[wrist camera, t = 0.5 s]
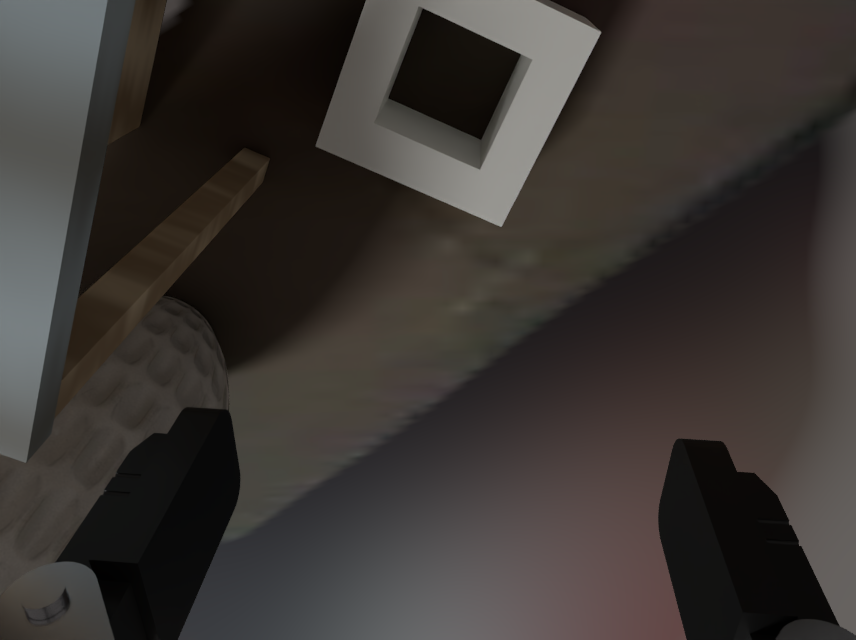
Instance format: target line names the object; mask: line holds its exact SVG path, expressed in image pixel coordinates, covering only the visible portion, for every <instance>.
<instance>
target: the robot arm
mask: <svg viewBox="0 0 856 640" xmlns="http://www.w3.org/2000/svg"><path fill="white" fill-rule="evenodd" d="M239 490H240V469H239V462H238V456H237V450H236V444H235V437H234V431H233V425H232V419H231V415H230V413H229V411H228V410H226V409H213V408H197V407H186V408H184V409H183V410H182V411H181V412H180V414H179V416H178V417H177V419H176V420H175V422H174V424H173V425H172V427H171V428H170V430H169V432H168V433H167V434H164V433H153V434H152V435H150V436H149V437H148V438H147V439H145V440H144V441H143V442H141V443H140V444H139V445H137V446H136V447H135V448H133V449H132V450H131V451H130V452H129V453H128V455H127V456H126V458H125V459H124V461H123V462H122V464H121V465H120V467H119V468H118V470H117V471H116V475H115V477H112V479H111V480H110V482H109V483H108V485H107V486H106V488H105V489H104V493H103V495H100V497H99V498H98V499H97V501H96V502H95V504H94V505H93V507H92V508H91V510H90V511H89V513H88V514H87V516H86V517H85V519H84V520H83V522H82V523H81V525H80V526H79V528H78V529H77V531H76V532H75V534H74V535H73V537H72V538H71V540H70V541H69V543H68V544H67V546H66V547H65V549H64V550H63V551H62V553H61V554H60V556H59V557H58V559H57V560H56V562H55V563H51V564H47V565H44V566H41V567H38V568H36V569H34V570H31V571H29V572H28V573H26V574H24V575H22V576H21V577H20V578H18V579H17V580H15V581H14V582H13V583H12V584H11V585H10V586H8V587H7V588H6V589H5V591H4V592H3V593H2V594H1V595H0V640H178V638H179V636H180V633H181V631H182V628H183V626H184V624H185V622H186V619H187V617H188V615H189V613H190V610H191V608H192V606H193V603H194V601H195V599H196V596H197V594H198V592H199V589H200V587H201V585H202V583H203V580H204V578H205V576H206V573H207V571H208V569H209V567H210V564H211V562H212V560H213V557H214V555H215V553H216V550H217V548H218V546H219V544H220V541H221V539H222V537H223V534H224V532H225V530H226V527H227V525H228V523H229V521H230V518H231V516H232V514H233V511H234V509H235V506H236V504H237V500H238V496H239ZM658 522H659V532H660V539H661V543H662V547H663V551H664V554H665V558H666V562H667V566H668V570H669V574H670V578H671V581H672V585H673V589H674V593H675V597H676V601H677V604H678V608H679V612H680V616H681V620H682V624H683V628H684V631H685V635H686V639H687V640H856V635H854V634H853V633H851V632H849V631H847V630H846V629H844V628H842V627H840V626H839V624H838V622H837V620H836V618H835V616H834V614H833V612H832V610H831V607H830V605H829V603H828V601H827V599H826V597H825V595H824V593H823V591H822V589H821V587H820V584H819V582H818V580H817V578H816V576H815V574H814V572H813V570H812V568H811V566H810V564H809V561H808V559H807V557H806V555H805V553H804V551H803V549H802V547H801V546H799V544H798V543H799V540H798V538H797V536H796V534H795V532H794V530H793V528H792V526H791V525H789V519H788V517H787V515H786V513H785V511H784V509H783V507H782V505H781V503H780V501H779V499H778V496H777V495H776V494H775V493H774V492H773V491H772V490H771V489H770V488H769V487H768V486H767V485H766V484H765V483H764V482H763V481H762V480H761V479H760V478H759V477H758V476H757V475H756V474H755V473H745V472H737V471H736V468H735V466H734V464H733V461H732V459H731V457H730V454H729V452H728V450H727V447H726V446H725V444H724V443H723V442H721V441H708V440H693V439H677V440H676V441H675V443H674V445H673V449H672V453H671V457H670V461H669V466H668V470H667V474H666V478H665V482H664V486H663V491H662V495H661V499H660V504H659V515H658Z"/></svg>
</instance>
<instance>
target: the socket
mask: <svg viewBox="0 0 856 640" xmlns="http://www.w3.org/2000/svg"><path fill="white" fill-rule="evenodd" d="M423 8H424V9H426V10H428V11H430V12H432V13H434V14H437V15H439V16H441V17H443V18H445V19H447V20H449V21H451V22H454V23H456V24H458V25H460V26H462V27H464V28H466V29H468V30H471V31H473V32H475V33H477V34H479V35H481V36H483V37H485V38H488V39H490V40H492V41H494V42H496V43H498V44H500V45H503V46H505V47H507V48H509V49H511V50H513V51H515V52H517V53H520V54H521V55H520V58H519V60H518V62H517V64H516V66H515V68H514V70H513V73H512V75H511V77H510V79H509V81H508V83H507V85H506V88H505V90H504V92H503V94H502V96H501V98H500V100H499V103H498V105H497V107H496V109H495V111H494V113H493V115H492V118H491V120H490V122H489V124H488V126H487V128H486V130H485V133H484V135H483V137H482V139H481V140H480V139H478V138H476V137H473V136H471V135H469V134H467V133H464V132H462V131H460V130H458V129H456V128H453V127H451V126H449V125H447V124H444V123H442V122H440V121H438V120H435V119H433V118H431V117H429V116H427V115H424V114H422V113H420V112H418V111H415V110H413V109H411V108H409V107H406V106H404V105H402V104H400V103H398V102H395V101H393V100H391V99H389V95H390V92H391V90H392V87H393V85H394V82H395V79H396V77H397V74H398V72H399V69H400V67H401V64H402V61H403V59H404V56H405V54H406V51H407V48H408V46H409V43H410V41H411V38H412V36H413V33H414V30H415V28H416V25H417V23H418V20H419V17H420V15H421V12H422V10H423ZM600 34H601V31H600V30H599V29H598V28H597V27H595V26H594V25H593V24H592V23H591V22H590V21H589V20H588V19H587V18H585V17H583V16H581V15H579V14H577V13H575V12H573V11H571V10H569V9H567V8H565V7H563V6H561V5H559V4H556V3H554V2H552V1H550V0H366V2H365V4H364V7H363V10H362V13H361V16H360V19H359V22H358V25H357V28H356V30H355V33H354V36H353V39H352V42H351V45H350V48H349V51H348V53H347V56H346V59H345V62H344V65H343V68H342V71H341V74H340V77H339V79H338V82H337V85H336V88H335V91H334V94H333V97H332V100H331V102H330V105H329V108H328V111H327V114H326V117H325V120H324V123H323V126H322V128H321V131H320V134H319V137H318V140H317V143H316V147H318V148H320V149H323V150H325V151H327V152H329V153H332V154H334V155H336V156H339V157H341V158H343V159H346V160H348V161H350V162H353V163H355V164H357V165H359V166H362V167H364V168H366V169H369V170H371V171H373V172H376V173H378V174H380V175H383V176H385V177H387V178H390V179H392V180H394V181H396V182H399V183H401V184H403V185H406V186H408V187H410V188H413V189H415V190H417V191H420V192H422V193H424V194H426V195H429V196H431V197H433V198H436V199H438V200H440V201H443V202H445V203H447V204H450V205H452V206H454V207H456V208H459V209H461V210H463V211H466V212H468V213H470V214H473V215H475V216H477V217H480V218H482V219H484V220H487V221H489V222H491V223H493V224H496V225H498V226H500V227H502V225H503V223H504V221H505V219H506V217H507V215H508V213H509V211H510V209H511V207H512V205H513V203H514V201H515V200H516V198H517V196H518V194H519V192H520V190H521V188H522V186H523V184H524V182H525V180H526V178H527V176H528V174H529V172H530V170H531V168H532V166H533V164H534V163H535V161H536V159H537V157H538V155H539V153H540V151H541V149H542V147H543V145H544V143H545V141H546V139H547V137H548V135H549V133H550V131H551V129H552V128H553V126H554V124H555V122H556V120H557V118H558V116H559V114H560V112H561V110H562V108H563V106H564V104H565V102H566V100H567V98H568V96H569V94H570V92H571V91H572V89H573V87H574V85H575V83H576V81H577V79H578V77H579V75H580V73H581V71H582V69H583V67H584V65H585V63H586V61H587V59H588V57H589V56H590V54H591V52H592V50H593V48H594V46H595V44H596V42H597V40H598V38H599V36H600Z"/></svg>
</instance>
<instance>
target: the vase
mask: <svg viewBox="0 0 856 640" xmlns="http://www.w3.org/2000/svg"><path fill="white" fill-rule="evenodd" d="M186 407H197V408H213V409H226V410H228V411H229V385H228V373H227V367H226V362H225V359H224V356H223V354H222V351H221V348H220V345H219V343H218V340H217V338H216V336H215V333H214V331H213V329H212V328H211V326H210V324H209V323H208V321H207V320H206V319H205V318H204V317H203V316H202V315H201V314H200V313H199V312H198V311H197V310H196V309H195V308H193V307H192V306H190V305H189V304H187V303H185V302H183V301H181V300H179V299H176V298H172V297H169V296H162V297H161V298H160V300H159V301H158V302H157V303H156V304H155V305H154V306H153V307H152V309H151V310H150V311H149V312H148V313H147V314H146V315H145V317H144V318H143V319H142V320H141V321H140V322H139V323H138V324H137V326H136V327H135V328H134V329H133V330H132V331H131V332H130V334H129V335H128V336H127V337H126V338H125V339H124V340H123V341H122V343H121V344H120V345H119V346H118V347H117V348H116V349H115V351H114V352H113V353H112V354H111V355H110V356H109V357H108V359H107V360H106V361H105V362H104V363H103V364H102V365H101V366H100V368H99V369H98V370H97V371H96V372H95V373H94V374H93V376H92V377H91V378H90V379H89V380H88V381H87V382H86V383H85V385H84V386H83V387H82V388H81V389H80V390H79V391H78V393H77V394H76V395H75V396H74V397H73V398H72V399H71V400H70V402H69V403H68V404H67V405H66V406H65V407H64V408H63V410H62V411H61V412H60V413H59V414H58V415H57V416H56V418H55V419H54V422H53V427H52V433H51V435H50V436H49V437H48V438H47V440H46V441H45V442H44V443H43V444H42V445H41V446H40V448H39V449H38V450H37V451H36V452H35V453H34V455H33V456H32V457H31V458H30V459H29V460H28V462H27V463H24V462H22V461H19V460H16V459H13V458H10V457H7V456H4V455H2V454H0V595H1V594H2V593H3V592H4V591H5V589H6V588H7V587H8V586H10V585H11V584H12V583H13V582H14V581H15V580H17V579H18V578H20V577H21V576H22V575H24V574H26V573H28V572H29V571H31V570H34V569H36V568H38V567H41V566H44V565H47V564H51V563H55V562H56V560H57V559H58V557H59V556H60V554H61V553H62V551H63V550H64V549H65V547H66V546H67V544H68V543H69V541H70V540H71V538H72V537H73V535H74V534H75V532H76V531H77V529H78V528H79V526H80V525H81V523H82V522H83V520H84V519H85V517H86V516H87V514H88V513H89V511H90V510H91V508H92V507H93V505H94V504H95V502H96V501H97V499H98V498H99V497H100V495H103V493H104V489H105V488H106V486H107V485H108V483H109V482H110V480H111V479H112V477H115V475H116V471H117V470H118V468H119V467H120V465H121V464H122V462H123V461H124V459H125V458H126V456H127V455H128V453H129V452H130V451H131V450H132V449H133V448H135V447H136V446H137V445H139V444H140V443H141V442H143V441H144V440H145V439H147V438H148V437H149V436H150V435H152V434H153V433H164V434H167V433H168V432H169V430H170V428H171V427H172V425H173V424H174V422H175V420H176V419H177V417H178V416H179V414H180V412H181V411H182V410H183V409H184V408H186Z"/></svg>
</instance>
